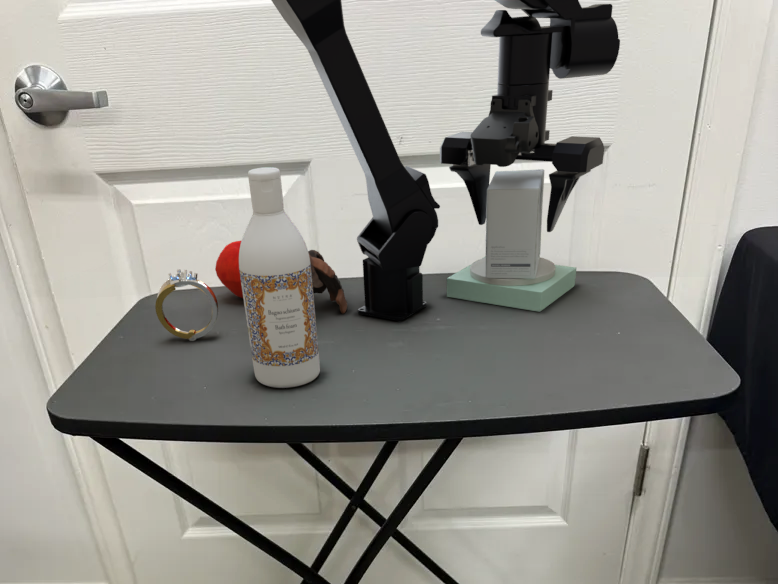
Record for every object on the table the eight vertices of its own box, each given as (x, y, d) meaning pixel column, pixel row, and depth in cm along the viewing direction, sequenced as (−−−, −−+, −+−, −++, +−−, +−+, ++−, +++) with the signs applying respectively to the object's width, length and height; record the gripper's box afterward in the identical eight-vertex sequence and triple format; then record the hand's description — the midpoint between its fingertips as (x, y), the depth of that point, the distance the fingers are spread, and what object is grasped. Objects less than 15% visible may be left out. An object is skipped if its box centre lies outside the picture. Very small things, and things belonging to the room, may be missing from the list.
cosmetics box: (491, 254, 103) (494, 169, 97) (540, 255, 102) (547, 168, 96) (482, 278, 95) (485, 187, 89) (535, 280, 94) (542, 186, 88)
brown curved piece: (350, 325, 94) (312, 272, 89) (288, 355, 98) (248, 306, 93) (357, 271, 102) (322, 219, 97) (299, 301, 106) (262, 252, 101)
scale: (445, 296, 100) (446, 271, 98) (485, 273, 107) (485, 249, 105) (540, 312, 94) (542, 285, 92) (574, 286, 101) (577, 261, 99)
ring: (224, 333, 93) (212, 265, 88) (220, 342, 90) (208, 273, 86) (166, 336, 93) (152, 269, 88) (161, 346, 90) (146, 277, 86)
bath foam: (258, 393, 78) (228, 180, 67) (252, 367, 84) (222, 167, 72) (325, 384, 79) (307, 173, 68) (314, 359, 85) (295, 160, 73)
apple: (213, 307, 101) (203, 248, 97) (232, 287, 107) (223, 232, 103) (272, 307, 100) (264, 248, 95) (287, 288, 106) (281, 231, 102)
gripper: (414, 90, 86) (417, 236, 95) (574, 92, 77) (560, 253, 86) (462, 79, 93) (460, 215, 102) (613, 80, 84) (596, 229, 93)
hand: (515, 227), depth 96 cm, fingers open, 9 cm apart
